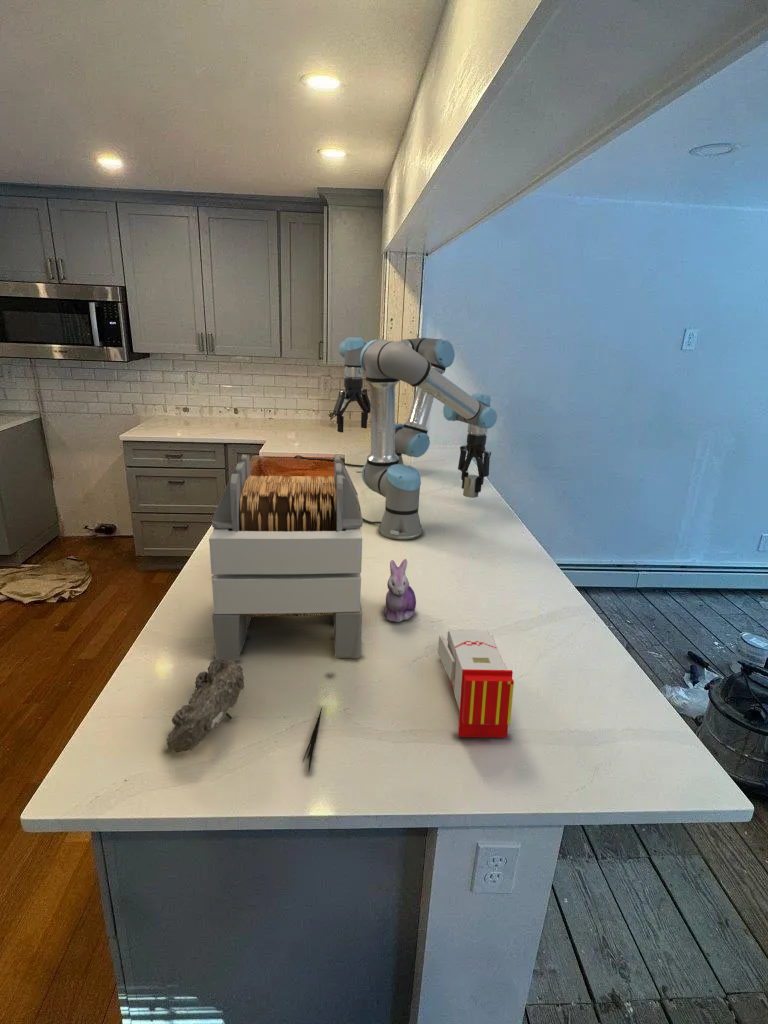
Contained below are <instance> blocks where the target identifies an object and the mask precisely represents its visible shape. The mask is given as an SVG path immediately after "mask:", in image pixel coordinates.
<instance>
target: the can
mask: <svg viewBox="0 0 768 1024" xmlns="http://www.w3.org/2000/svg"><path fill="white" fill-rule="evenodd" d="M478 476H479V475H476V474H468V475H466V476H465V480H464V489H463V490H462V491H463V492H462V495H463V497H465V498H470V499H473V498H474V499H476V498H478V497H479V493H475V490H476V481H477V477H478Z"/></svg>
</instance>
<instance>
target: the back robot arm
mask: <svg viewBox="0 0 768 1024" xmlns="http://www.w3.org/2000/svg"><path fill="white" fill-rule="evenodd" d="M370 341H371V340H365V339H364V338H363V337H346V339H345V340H342V341H341V342H340V344H339V346H338V352H339V355H340V356H341V357H342V358H344V370H343V371H344V373H343V374H344V375H343V377H344V378H343V386H344V390H339V391H338V397H337V399H336V402H335V405H334V408H333V411H332V415H334V416H336V425H337V432H338V433H343V434H344V424H345V423H344V418H345V417H344V413H345V412H346V410H347V408H348V406H349V405H350V404H351V403H352V402H357V404H358V405H359V408H360V409H361V410H362V412H361V415H360V416H361V417H360V428H361V429H368V419H369V414H371V400H370V398H369V395H368V388H364V378H363V377H364V369H363V368H362V366H361V363H360V354H361V351H362V349H363V347H364V346H365V345H366V344H367V343H368V342H370ZM393 341H394V340H393ZM394 342H401V343H404V344H406V345H407V346H409V347H410V348H412V349H413V350H415V351H416V352H417V353H419V354H420V355H421V356H423V357H424V358H425V359H427V360H428V361H429V362H430V363H431V367H432V368H433V369H435V370H436V371H437V372H439V373H440V374H442V375H443V374H444V373H446V369H447V368H449V367H451V366H452V365H453V363H454V360H455V357H456V355H455V354H456V353H455V352H456V351H455V349H454V345H453V344H452V343H451V341H449V340H447V339H442V338H430V337H429V338H428V337H427V338H426V337H416V338H403V339H401V340H399V341H397V340H395V341H394ZM434 400H435V398H434V397H433V396H432V395H430V394H429V393H427V392H426V391H424V390H423V389H421V388H420V387H416V391H415V395H414V398H413V402H412V406H411V409H410V413H409V416H408V420H407V421H406V422H404V423H398V422H395V454H396V455H397V456H398V457H399V464H403V465H405V464H404V461H403V455H406V456H407V457H411V458H412V457H413V458H420V457H422V456H423V455H425V454H426V453H427V451H428V450H429V447H430V445H431V440H430V436H429V435H428V431H429V430H428V428H427V423H428V420H429V416H430V413H431V410H432V406H433V403H434ZM296 458H300V459H303V460H308V461H326V462H327V461H328V462H334V459H330V458H320V457H318V458H317V457H305V456H302V455H299V454H298V455H295V456H294V457H293V459H296ZM343 463H344V465H345V466H348V467H349V466H350V467H358V468H359V467H361V468H363V467H364V466H365V464H353V463H347V462H343Z"/></svg>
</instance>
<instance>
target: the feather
mask: <svg viewBox="0 0 768 1024" xmlns="http://www.w3.org/2000/svg"><path fill="white" fill-rule="evenodd" d="M329 675H330V676H331V675H332V674H331V673H330V674H329ZM322 710H323V707H321V708H320V710H319V713H318V716H317V719H316V723H315V725H314V728H313V731H312V733H311V737H310V739H309V742H308V745H307V748H306V751H305V754H304V757H303V760H302V763H301V767H302V765H303V763H304V761H305V758H308V759H309V760H308V762H307V763H308V764H307V766H308V771H310V770H311V766H312V765H311V764H312V760H313V757H315V756H314V755H315V751H316V749H315V746H317V739H318V733H319V729H320V722H321V717H322V712H323V711H322ZM313 754H314V755H313ZM306 755H307V757H306Z"/></svg>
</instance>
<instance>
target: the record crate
mask: <svg viewBox="0 0 768 1024" xmlns="http://www.w3.org/2000/svg"><path fill="white" fill-rule="evenodd" d="M333 460H334V461H333V469H334V470H333V476H327V477H325V476H321V475H319V476H314V477H313V476H311V475H309V476H307V475H290V476H283V475H279V476H278V475H265V476H264V475H259V476H258V475H251V459H250V454H243V453H242V454H241V456H240V459H239V461H238V462H237V464H236V466H235V469H234V471H233V473H232V474H231V475H230V478H229V479H228V482H227V484H226V486H225V489H224V491H223V493H222V496H221V498H220V500H219V502H218V504H217V507H216V508H215V511H214V513H213V516H212V518H211V527H212V528H213V529H212V531H211V534H210V535H209V538H208V543H209V559H210V574H211V575H213V576H212V579H211V587H212V588H211V589H212V600H213V601H212V603H213V612H212V629H213V630H212V631H213V640H214V649H215V657H214V660H217V661H224V660H227V659H228V660H231V659H232V660H234V661H238V660H239V658H240V654H241V653H242V649H243V647H244V645H245V642H246V640H247V636H248V632H247V630H248V629H247V627H249V626H250V624H251V623H250V622H251V618H253V617H254V618H255V617H258V618H259V617H264V618H265V617H267V618H268V617H292V616H293V617H308V616H310V617H311V616H333V618H332V619H333V626H334V627H333V636H334V638H333V639H334V640H333V641H334V658H337V659H342V658H344V659H345V658H347V659H349V658H352V659H358V658H359V657H361V656H362V633H363V632H362V631H363V630H362V629H363V611H362V603H361V590H362V576H361V574H362V563H363V562H362V561H363V534H362V529H361V528H362V527H363V525H364V524H363V523H364V521H363V519H362V518H363V515H362V509H361V505H360V499H359V494H358V492H357V489H356V487H355V485H354V483H353V481H352V478H351V477H350V474H349V472H348V470H347V468H346V465H344V463H345V462H344V461H343V459H342V456H341V455H336V454H334V458H333Z"/></svg>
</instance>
